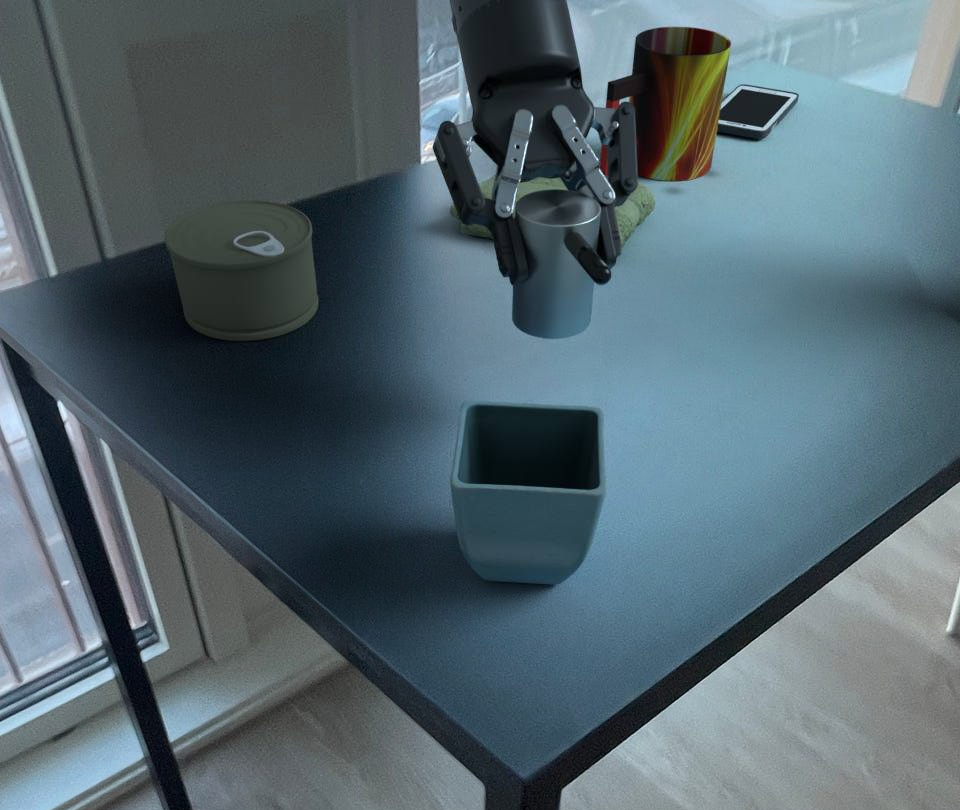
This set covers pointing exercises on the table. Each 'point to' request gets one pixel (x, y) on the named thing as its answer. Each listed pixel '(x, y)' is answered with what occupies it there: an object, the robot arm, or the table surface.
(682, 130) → the mug
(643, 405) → the table surface
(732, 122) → the cell phone
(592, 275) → the metal cylinder with handle
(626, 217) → the washcloth
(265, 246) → the can
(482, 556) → the flower pot
